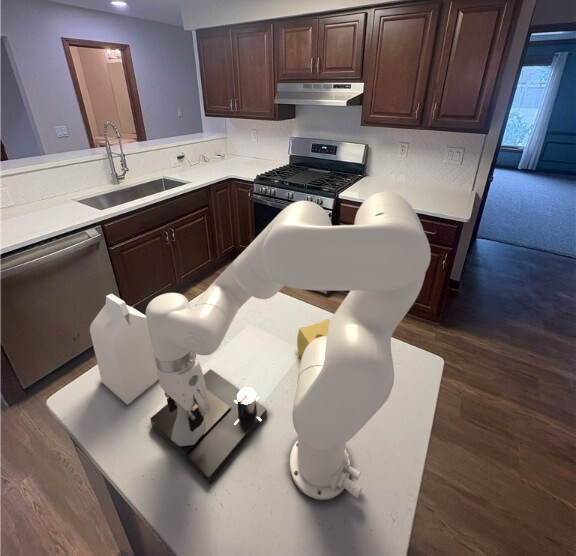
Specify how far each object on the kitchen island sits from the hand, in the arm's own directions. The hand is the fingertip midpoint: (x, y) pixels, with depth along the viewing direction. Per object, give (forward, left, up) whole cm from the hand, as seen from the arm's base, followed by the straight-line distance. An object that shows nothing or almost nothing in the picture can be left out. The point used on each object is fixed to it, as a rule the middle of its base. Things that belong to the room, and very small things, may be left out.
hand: (186, 415), depth 68 cm
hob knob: (-7, -11, -5) cm, 14 cm away
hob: (-1, -6, -7) cm, 9 cm away
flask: (0, 0, -5) cm, 5 cm away
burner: (+3, -3, -5) cm, 7 cm away
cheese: (-13, -37, -8) cm, 39 cm away
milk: (+25, -2, -8) cm, 27 cm away
